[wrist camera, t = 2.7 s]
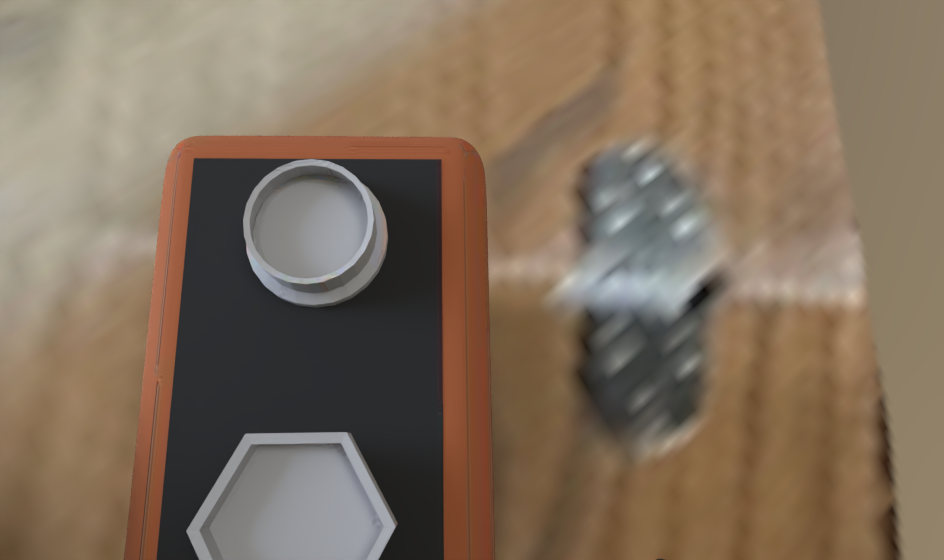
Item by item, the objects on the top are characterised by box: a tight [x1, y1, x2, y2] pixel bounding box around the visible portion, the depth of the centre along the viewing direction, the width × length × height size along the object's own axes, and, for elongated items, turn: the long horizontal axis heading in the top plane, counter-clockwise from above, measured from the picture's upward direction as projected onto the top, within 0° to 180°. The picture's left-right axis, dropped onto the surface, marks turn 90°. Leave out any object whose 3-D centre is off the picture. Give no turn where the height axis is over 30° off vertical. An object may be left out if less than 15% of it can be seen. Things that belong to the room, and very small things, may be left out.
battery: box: [124, 136, 495, 560], centre depth 12 cm, size 4×7×10 cm, turn 1°
